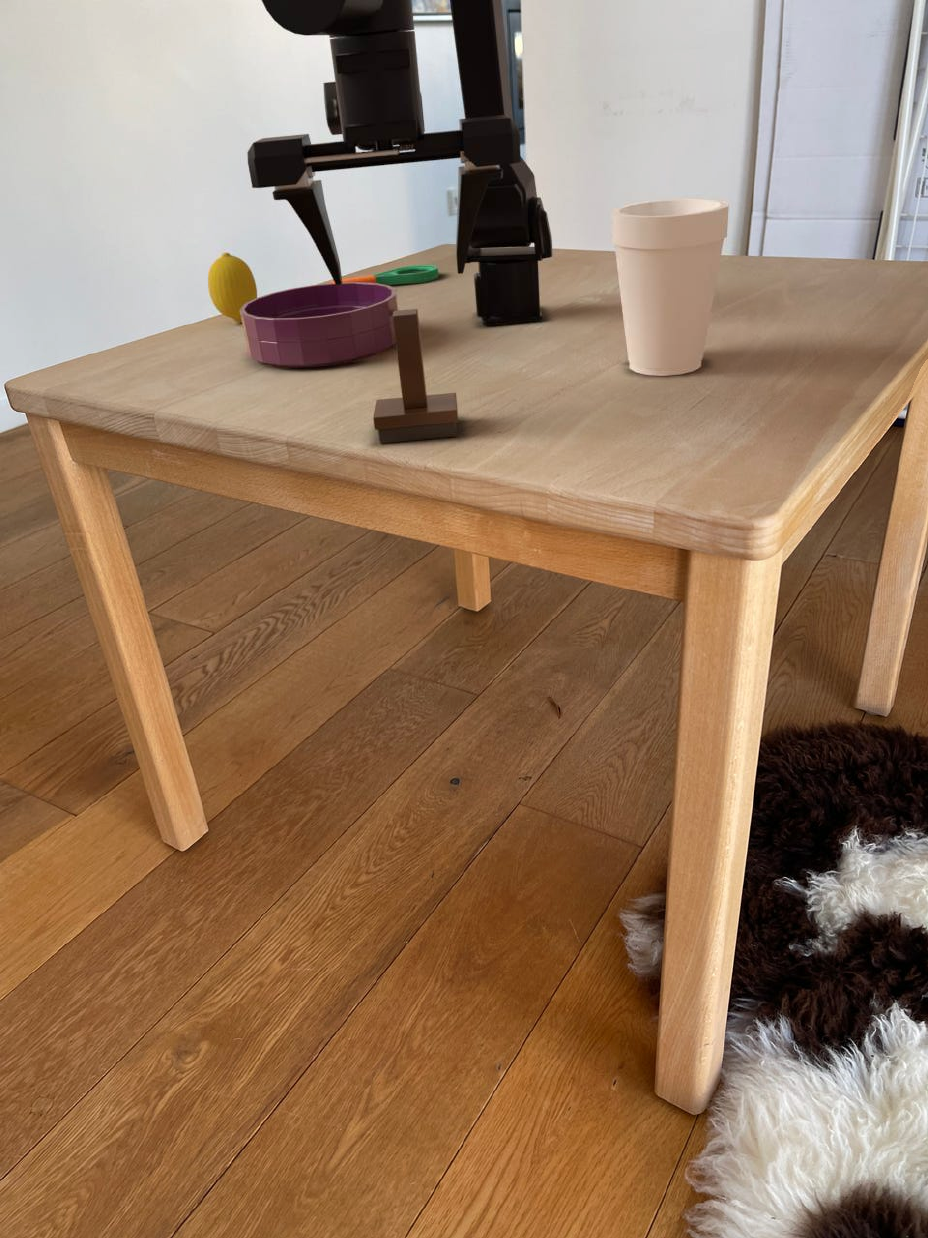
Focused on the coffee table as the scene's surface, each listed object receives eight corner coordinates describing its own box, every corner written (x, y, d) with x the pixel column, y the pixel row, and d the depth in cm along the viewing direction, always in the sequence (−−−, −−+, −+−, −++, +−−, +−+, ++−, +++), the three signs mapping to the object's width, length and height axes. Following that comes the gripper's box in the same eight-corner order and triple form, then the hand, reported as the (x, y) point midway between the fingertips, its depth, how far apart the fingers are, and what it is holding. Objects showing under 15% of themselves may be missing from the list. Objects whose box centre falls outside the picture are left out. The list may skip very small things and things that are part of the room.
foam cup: (654, 388, 77) (657, 220, 70) (591, 364, 84) (589, 211, 78) (742, 365, 80) (753, 203, 74) (674, 344, 88) (679, 195, 81)
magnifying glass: (426, 272, 128) (425, 259, 128) (446, 277, 124) (445, 264, 123) (325, 291, 123) (323, 278, 122) (341, 298, 118) (339, 284, 117)
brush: (458, 418, 75) (447, 301, 70) (459, 437, 71) (448, 315, 66) (380, 425, 75) (364, 309, 70) (376, 445, 71) (359, 323, 66)
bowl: (403, 323, 104) (398, 276, 102) (400, 362, 90) (393, 309, 88) (262, 336, 104) (253, 290, 102) (238, 377, 91) (227, 325, 88)
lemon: (252, 327, 108) (237, 255, 104) (208, 329, 110) (193, 258, 105) (269, 316, 113) (256, 246, 109) (228, 317, 114) (213, 249, 110)
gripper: (502, 25, 69) (513, 248, 77) (252, 50, 69) (290, 269, 77) (515, 19, 59) (526, 274, 67) (225, 47, 59) (271, 299, 67)
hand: (399, 278), depth 70 cm, fingers open, 9 cm apart
